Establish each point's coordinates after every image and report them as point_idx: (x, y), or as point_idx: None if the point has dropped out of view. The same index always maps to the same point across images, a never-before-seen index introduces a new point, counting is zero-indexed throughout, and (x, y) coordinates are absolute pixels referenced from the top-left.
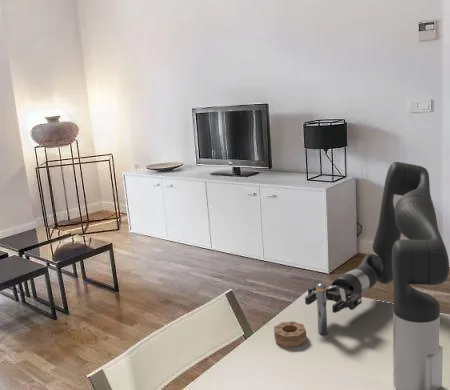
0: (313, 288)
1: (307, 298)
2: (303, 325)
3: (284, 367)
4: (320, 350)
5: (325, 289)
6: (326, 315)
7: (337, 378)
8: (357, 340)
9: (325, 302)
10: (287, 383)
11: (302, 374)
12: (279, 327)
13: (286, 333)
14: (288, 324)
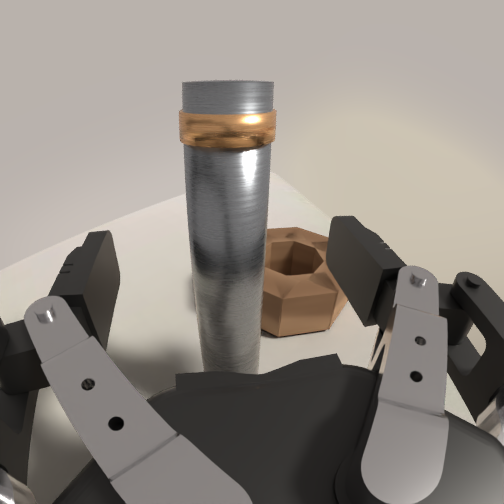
0: (484, 308)
1: (334, 218)
2: (277, 295)
3: (187, 227)
4: (152, 309)
5: (179, 124)
6: (201, 339)
7: (60, 256)
8: (58, 438)
9: (190, 244)
10: (147, 210)
11: (136, 231)
12: (323, 246)
13: (269, 238)
14: (324, 269)
